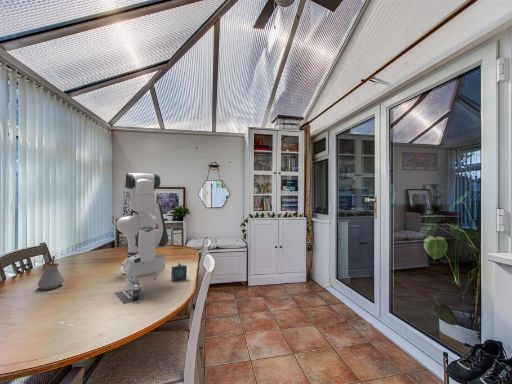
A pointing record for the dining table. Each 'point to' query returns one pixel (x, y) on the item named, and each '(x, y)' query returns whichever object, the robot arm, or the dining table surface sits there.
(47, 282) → the grey vase with sticks
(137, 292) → the dark grey cylinder
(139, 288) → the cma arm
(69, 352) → the dining table surface
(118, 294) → the chassis plate
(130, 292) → the label plate
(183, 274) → the flask
